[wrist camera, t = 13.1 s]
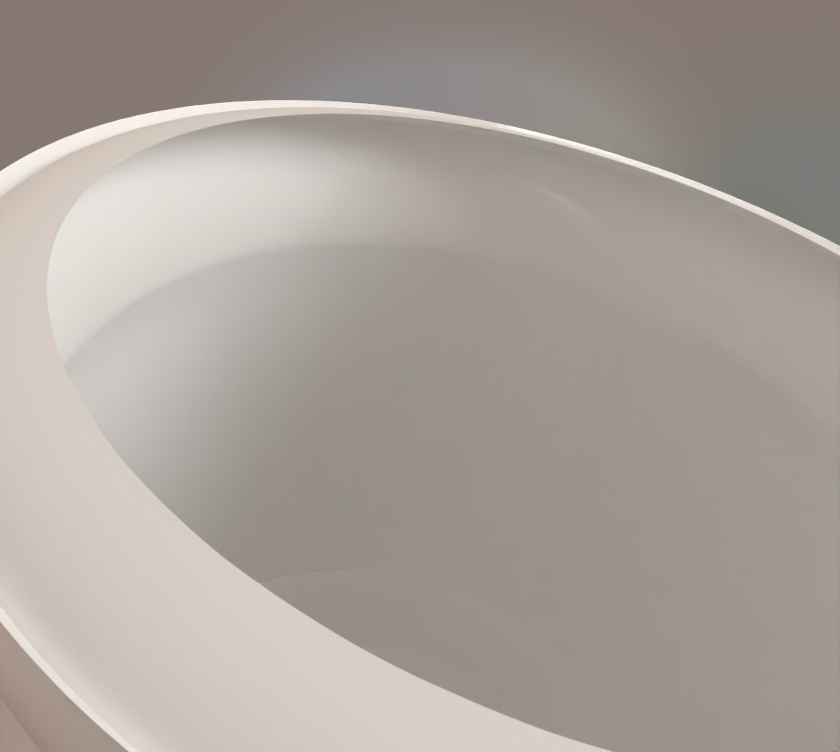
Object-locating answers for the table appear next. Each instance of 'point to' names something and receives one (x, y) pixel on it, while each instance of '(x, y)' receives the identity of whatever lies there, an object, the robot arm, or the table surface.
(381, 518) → the jar
